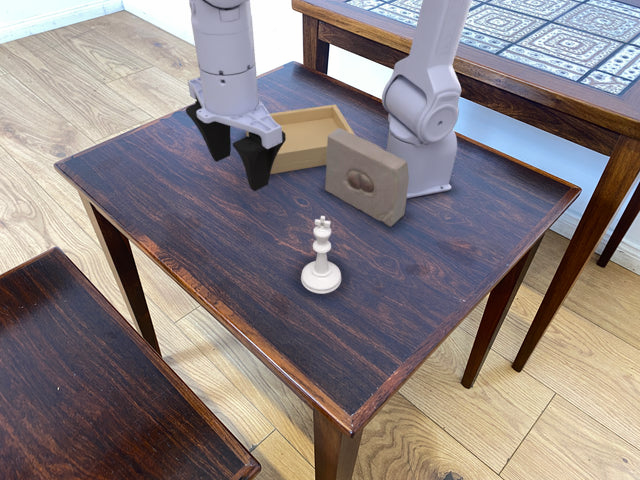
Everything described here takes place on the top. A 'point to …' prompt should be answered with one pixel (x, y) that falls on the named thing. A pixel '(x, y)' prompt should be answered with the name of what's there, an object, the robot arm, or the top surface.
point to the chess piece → (321, 263)
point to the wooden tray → (306, 136)
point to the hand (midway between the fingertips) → (240, 171)
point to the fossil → (366, 176)
